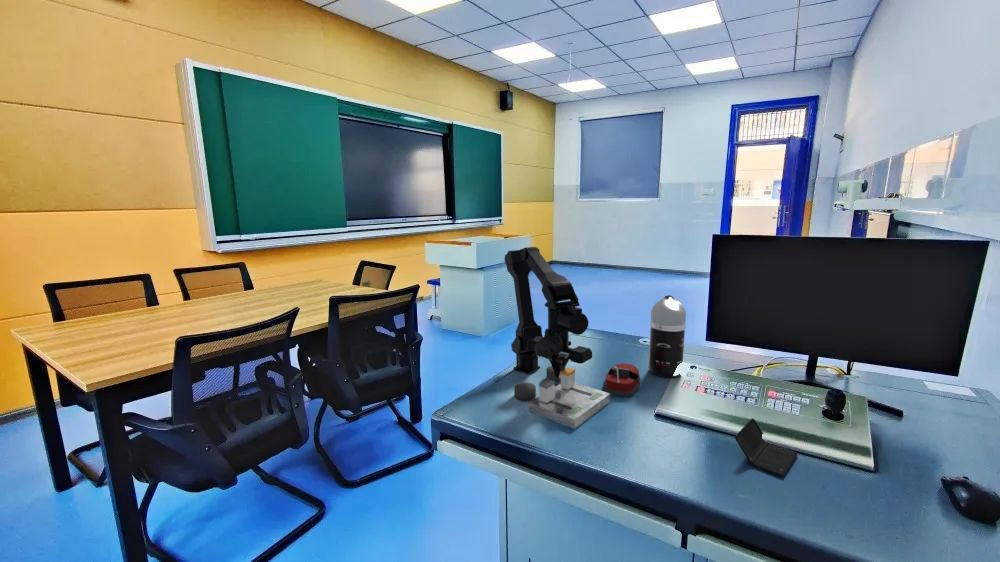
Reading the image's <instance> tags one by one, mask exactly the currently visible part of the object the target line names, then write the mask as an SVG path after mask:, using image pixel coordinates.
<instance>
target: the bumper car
mask: <svg viewBox="0 0 1000 562" xmlns="http://www.w3.org/2000/svg"><path fill="white" fill-rule="evenodd" d="M640 386H641V376H640V370H639V368H638V367H637V366H635V365H633V364H631V363H627V362H624V363H617V364H615V365H613V366H611V367H610V369H608V372H607V373H606V374H605V379H604V381H603V391H604V392H607V393H610V397H611V396H612V397H615V398H616V397H617V398H623V399H624V398H626V399H629V398H632V397H634V395H635V394H637V392H639V389H640Z"/></svg>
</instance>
